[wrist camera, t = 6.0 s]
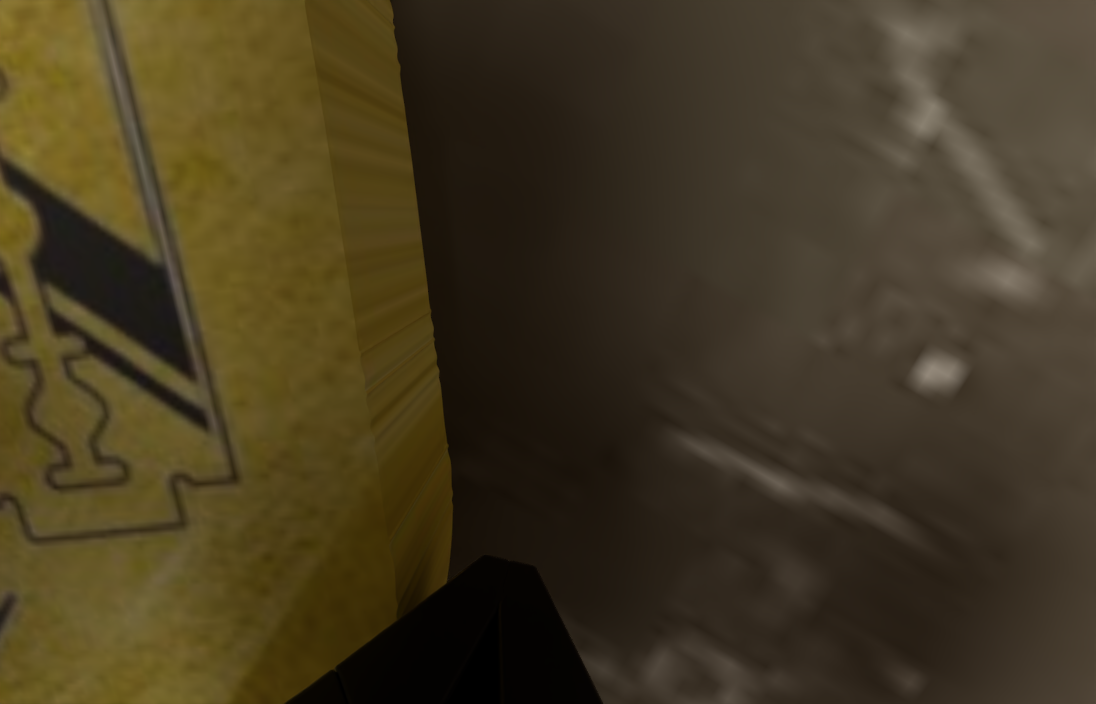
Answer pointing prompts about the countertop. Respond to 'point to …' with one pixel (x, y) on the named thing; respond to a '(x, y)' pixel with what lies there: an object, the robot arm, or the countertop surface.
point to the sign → (209, 350)
